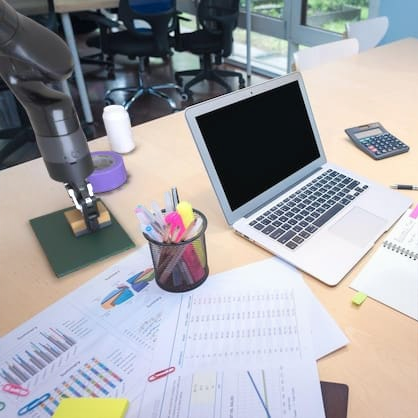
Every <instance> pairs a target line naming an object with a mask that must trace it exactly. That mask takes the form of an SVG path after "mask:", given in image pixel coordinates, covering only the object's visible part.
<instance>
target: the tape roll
mask: <svg viewBox="0 0 418 418" xmlns="http://www.w3.org/2000/svg"><path fill="white" fill-rule="evenodd" d="M90 153H91V157H92V160H93V163H94V167H95V169H94V172H93V173H92V174H91V175H90V176H89V177H87V181H89V182H90V184H91V186H92V193H93V194H99V193H105V192H110V191H112V190H115V189H118V188H119V187H120V186H122V185H123V184H125V183H126V181H127V179H128V173H127V170H126V166H125V165H126V164H125V161H124V157H123V156H122V155H121V153H117V152H114V151H112V150H97V151H90Z"/></svg>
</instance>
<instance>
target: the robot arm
mask: <svg viewBox="0 0 418 418" xmlns="http://www.w3.org/2000/svg"><path fill="white" fill-rule="evenodd" d="M74 69H75V59H74V55H73V52H72V51H71V49H70V46H68V45H67V42H65V41H64V40H63V38H62V37H60V36H59V35H58V34H56V33H55V32H54V31H52V30H51V29H49V28H48V27H45V26H44V25H42V24H41V23H39V22H36V21H35V20H33V19H32V18H31V17H27V16H25V15H23V14H21V13H19V12H18V11H17V10H15V9H14V7H12V6H11V5H10V4H9V3H8V2H7V1H6V0H0V77H1V79H2V80H3V81H4V83H5V84H6V85H7V87H8V88H9V89H10V90H11V93H12V94H14V96H15V97H16V99H17V100H18V101H19V103H20V104H21V105H22V106H23V108H24V110H25V111H26V114H27V116H28V119H29V121H30V124H31V126H32V129H33V132H34V136H35V139H36V144H37V147H38V151H39V152H40V155H41V157H42V161H43V163H44V166H45V168H46V170H47V174H48V176H49V178H50V179H51V180H52V181H55V182H57V183H61V184H62V185H63V187H64V188H65V191H66V193H67V195H68V197H69V198H70V199H72V200H71V202H72V204H74V205H75V206H76V208H77V209H80V211H81V213H82V217H83V218H84V220H85V223H86V226H87V229H88V231H89V232H94V231H97V230H99V229H100V225H99V221H98V217H100V214H99V210H98V206H97V202H96V198H97V197H96V196H95V195H94V193H92V186H91V184H90V182H89V181H87V177H89V176H90V175H91V174H92V173H93V172H94V169H95V167H94V163H93V160H92V157H91V153H90V152H91V151H90V147H89V144H88V141H87V137H86V135H85V132H84V130H83V128H82V126H81V123H80V119H79V115H78V112H77V109H76V106H75V103H74V100H73V99H72V97H71V96H70V95H69V94H67V93H65V92H63V91H60V90H57V89H53V88H51V87H49V86H47V85H46V84H44V83H60V82H61V83H62V82H64V81H66V80H68V79H70V77H71V76H72V75H73V73H74Z"/></svg>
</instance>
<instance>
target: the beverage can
mask: <svg viewBox="0 0 418 418" xmlns="http://www.w3.org/2000/svg"><path fill="white" fill-rule="evenodd" d="M102 120H103V124H104V129H105V132H106V136H107V141H108V143H109V147H110V151H111V152H115V153H118V154H128V153H130V152H131V151H132V150H135V148H136V143H135V137H134V133H133V129H132V125H131V124H132V123H131V119H130V114H129V112H128V111H127V110H126V109H125V106H123V105H120V104H111V105H107V106H105V107H103V113H102Z"/></svg>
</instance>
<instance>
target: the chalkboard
mask: <svg viewBox="0 0 418 418" xmlns="http://www.w3.org/2000/svg"><path fill="white" fill-rule="evenodd" d="M98 201H101V202H102V204H103V205H104V206H105V208H106V209H107V210H108V212H109V216H110V219H111V223H112V224H111V225H108V226H106V227H103V228H100V229H99V230H97V231H94V232H89V233H86V234H83V235H81V236H78V237H75V235H74V233H73V232H72V230H71V228H70V227H69V225H68V222H67V219H66V217H65V214H64V212H67V211H70V210H74V209H77V208H76V206H75V204H74V205H72V206H68V207H65V208H62V209H59V210H55V211H52V212H50V213H47V214H46V213H45V214H43V215H40V216H37V217H34V218H31V219H28V222H29V224H30V225H31V227H32V230H33V232H34V234H35V236H36V238H37V239H38V241H39V243H40V245H41V247H42V249H43V251H44V253H45V255H46V257H47V259H48V262H49V263H50V265H51V267H52V269H53V271H54V273H55V275H56V277H57V278H58V279H59V278H62V277H65V276H66V275H68V274H72V273H75V272H77V271H79V270H82V269H84V268H86V267H88V266H91V265H94V264H96V263H98V262H101V261H104V260H106V259H109V258H111V257H114V256H116V255H119V254H121V253H124V252H125V251H128V250H130V249H133V248H135V247H136V246H137V245H136V243H135V241H133V239H132V238H131V236H129V234H128V233H127V231H126V230H125V229H124V227H123V226H122V225H121V223H120V222H119V220H117V218H116V217H115V216H114V214H113V213H112V212H111V211H110V209H109V207H107V205H106V204H105V202H104V201H103V200H102V199H101V197H96V202H98Z"/></svg>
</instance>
